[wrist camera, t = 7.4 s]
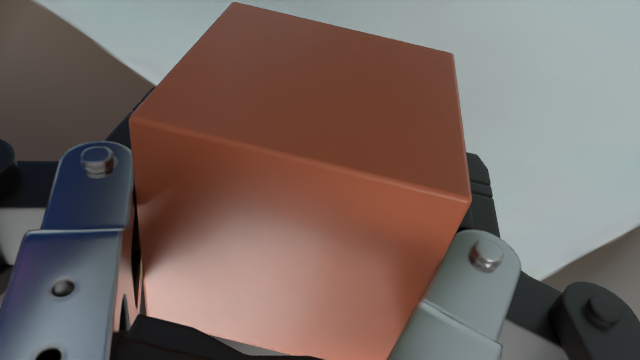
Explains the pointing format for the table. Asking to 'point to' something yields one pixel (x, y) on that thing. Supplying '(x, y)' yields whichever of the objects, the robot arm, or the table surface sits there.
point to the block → (298, 184)
